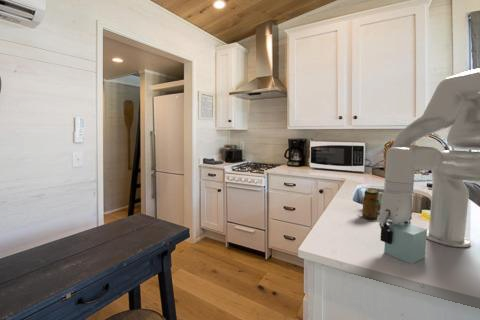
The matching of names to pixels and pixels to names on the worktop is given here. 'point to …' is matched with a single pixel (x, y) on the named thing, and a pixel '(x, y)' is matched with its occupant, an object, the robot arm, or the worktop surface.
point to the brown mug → (370, 206)
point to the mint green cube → (407, 243)
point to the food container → (380, 194)
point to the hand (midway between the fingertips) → (394, 238)
